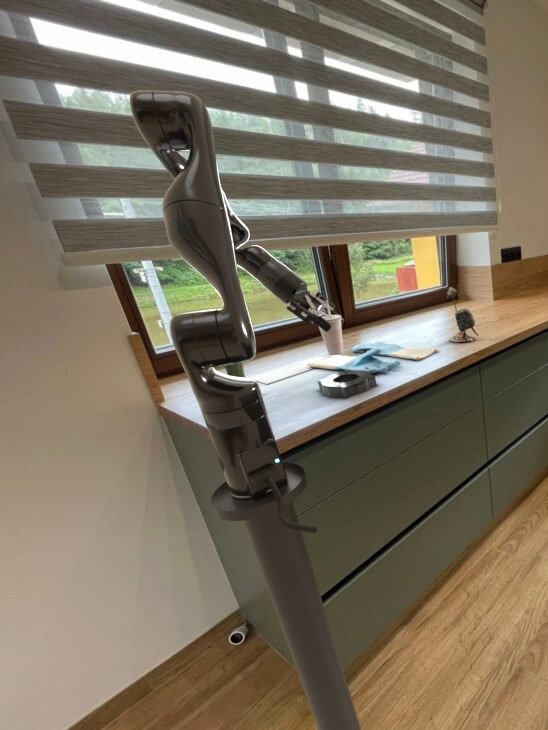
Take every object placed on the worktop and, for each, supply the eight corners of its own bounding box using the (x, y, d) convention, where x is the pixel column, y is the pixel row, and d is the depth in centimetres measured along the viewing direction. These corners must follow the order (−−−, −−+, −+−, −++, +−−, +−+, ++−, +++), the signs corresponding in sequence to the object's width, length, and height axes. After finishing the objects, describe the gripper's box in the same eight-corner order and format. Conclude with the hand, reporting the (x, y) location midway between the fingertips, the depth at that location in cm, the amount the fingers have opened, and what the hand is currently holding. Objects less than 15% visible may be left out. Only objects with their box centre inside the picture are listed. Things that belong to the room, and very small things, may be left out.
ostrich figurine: (469, 345, 151) (463, 288, 144) (445, 342, 157) (439, 287, 150) (483, 339, 158) (478, 284, 150) (459, 336, 164) (454, 283, 156)
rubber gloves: (368, 344, 161) (365, 327, 159) (438, 351, 147) (436, 333, 144) (307, 367, 138) (302, 348, 136) (383, 378, 124) (379, 357, 122)
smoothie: (353, 350, 114) (343, 298, 109) (333, 357, 109) (321, 303, 104) (338, 348, 118) (327, 297, 113) (317, 355, 112) (305, 302, 107)
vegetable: (238, 408, 109) (214, 332, 102) (236, 403, 112) (212, 329, 105) (258, 403, 111) (235, 328, 104) (255, 398, 115) (232, 326, 107)
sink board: (382, 383, 120) (380, 374, 119) (342, 400, 110) (340, 389, 109) (353, 377, 127) (351, 367, 126) (314, 392, 117) (311, 382, 116)
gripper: (271, 274, 100) (330, 321, 103) (304, 267, 113) (355, 309, 116) (257, 297, 102) (314, 343, 105) (290, 288, 115) (341, 329, 119)
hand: (336, 325), depth 111 cm, fingers closed on smoothie, 6 cm apart
